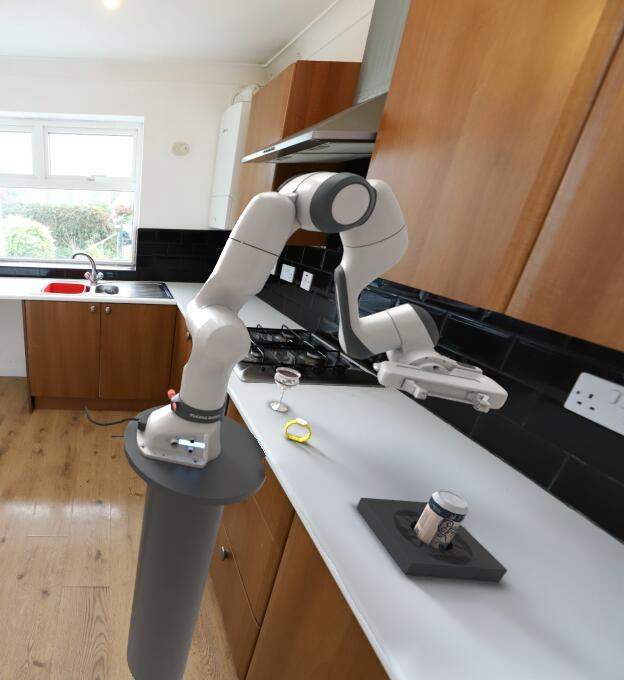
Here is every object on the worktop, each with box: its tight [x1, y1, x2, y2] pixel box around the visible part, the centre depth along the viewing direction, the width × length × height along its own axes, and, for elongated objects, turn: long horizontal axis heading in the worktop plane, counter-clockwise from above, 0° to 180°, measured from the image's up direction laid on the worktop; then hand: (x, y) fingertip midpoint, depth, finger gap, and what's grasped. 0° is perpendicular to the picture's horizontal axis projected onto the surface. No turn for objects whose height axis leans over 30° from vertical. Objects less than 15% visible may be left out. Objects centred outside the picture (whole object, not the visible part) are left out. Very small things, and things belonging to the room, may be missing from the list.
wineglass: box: [269, 366, 302, 412], centre depth 106 cm, size 7×7×12 cm
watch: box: [284, 417, 312, 443], centre depth 92 cm, size 6×3×6 cm, turn 65°
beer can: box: [413, 489, 469, 550], centre depth 63 cm, size 5×5×12 cm
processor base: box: [356, 497, 508, 583], centre depth 66 cm, size 16×14×3 cm
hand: (452, 401), depth 67 cm, fingers open, 8 cm apart
